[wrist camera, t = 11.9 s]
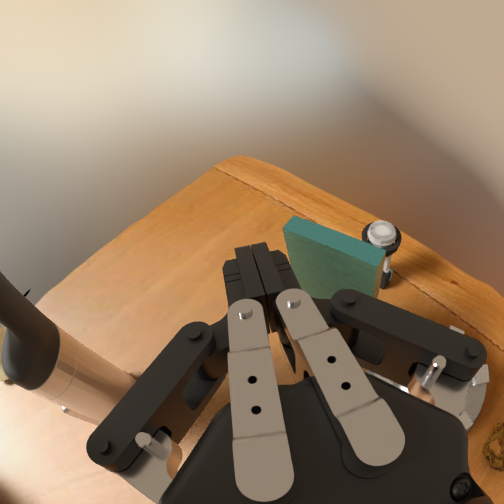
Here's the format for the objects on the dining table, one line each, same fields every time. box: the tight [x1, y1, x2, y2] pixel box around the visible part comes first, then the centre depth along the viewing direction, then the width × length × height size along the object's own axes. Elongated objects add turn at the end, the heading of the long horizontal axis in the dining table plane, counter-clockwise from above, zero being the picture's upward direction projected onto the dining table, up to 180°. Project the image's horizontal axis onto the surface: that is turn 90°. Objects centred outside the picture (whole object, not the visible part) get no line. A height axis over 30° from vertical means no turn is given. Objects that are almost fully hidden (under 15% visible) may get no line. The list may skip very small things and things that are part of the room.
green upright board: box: [283, 216, 489, 430], centre depth 23 cm, size 26×15×19 cm, turn 51°
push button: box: [362, 221, 401, 289], centre depth 38 cm, size 7×5×10 cm
